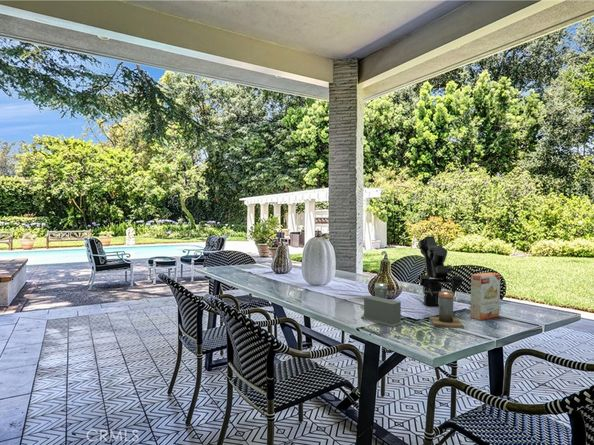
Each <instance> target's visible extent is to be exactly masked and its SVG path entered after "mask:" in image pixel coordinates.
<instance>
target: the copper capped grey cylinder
mask: <svg viewBox="0 0 594 445" xmlns="http://www.w3.org/2000/svg"><path fill="white" fill-rule="evenodd" d="M454 298H455V295H454V292H452V290H451V291H450V290H441V291H439V294H438V304H439V306H438V317H439V321H441V322H445V323H451V322H453V317H454Z"/></svg>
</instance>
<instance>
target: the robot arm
mask: <svg viewBox="0 0 594 445" xmlns="http://www.w3.org/2000/svg"><path fill="white" fill-rule="evenodd" d="M418 249H419V250H420V254H421V255H422V256H423V257H424V259H423V260H424V265H425V266H424V267H425V272H426V274H421V276H420V278H419V286H421V287H422V293H423V295H424V296H423V304H424V305H425V306H427V307H439V291H443V290H442V289H443V285H442V284H451V287H450V288H451V292H454V296H455V294H456V289H458V288H460V287H461V286H462V285H463V284H462V283H463V281H464V280H463V277H462V276H461V275H452V278H448V276H449V275H448V274H449V273H452V272H453V267H452V264H447V265H445V262H446V260H447V255H448V250H447V249H446V248H445V247H443V245H438V244H437V242H436V239H435V236H424V238H423V239H420V240H419V243H418Z"/></svg>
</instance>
